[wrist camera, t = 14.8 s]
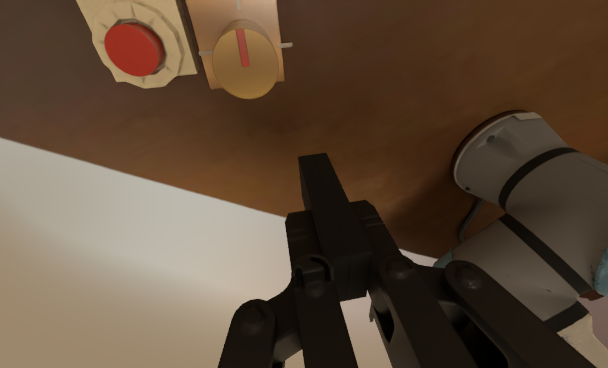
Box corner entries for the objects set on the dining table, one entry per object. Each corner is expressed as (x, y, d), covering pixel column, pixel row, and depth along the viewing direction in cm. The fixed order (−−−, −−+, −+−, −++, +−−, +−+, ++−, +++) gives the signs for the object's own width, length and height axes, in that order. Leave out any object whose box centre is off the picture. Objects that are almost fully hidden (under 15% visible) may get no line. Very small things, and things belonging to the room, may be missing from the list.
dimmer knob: (274, 73, 27) (282, 96, 21) (226, 77, 26) (220, 103, 20) (268, 17, 24) (275, 26, 18) (214, 21, 23) (202, 31, 17)
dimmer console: (291, 82, 31) (295, 90, 28) (215, 91, 30) (212, 100, 27) (280, -52, 23) (284, -58, 21) (177, -47, 22) (169, -51, 20)
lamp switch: (170, 68, 25) (165, 74, 23) (127, 73, 24) (118, 79, 23) (153, 20, 22) (146, 22, 21) (104, 24, 22) (93, 26, 20)
